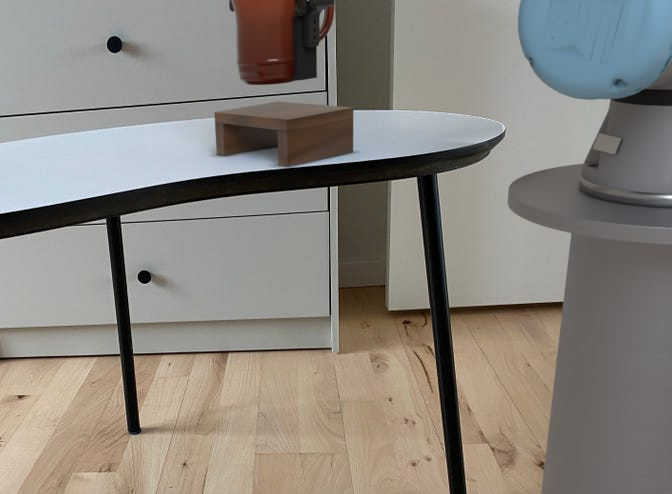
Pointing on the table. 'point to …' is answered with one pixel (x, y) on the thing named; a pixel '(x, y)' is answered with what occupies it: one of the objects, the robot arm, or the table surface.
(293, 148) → the shelf
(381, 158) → the table surface
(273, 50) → the mug
